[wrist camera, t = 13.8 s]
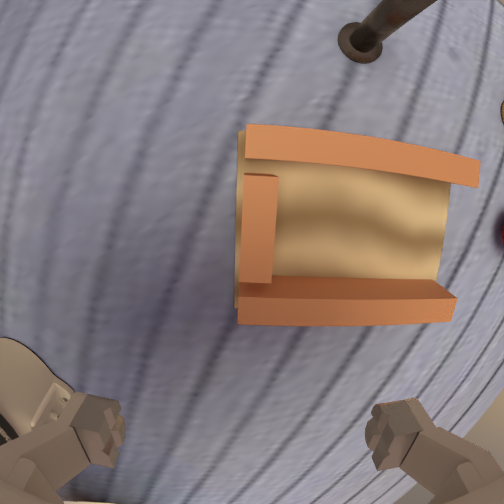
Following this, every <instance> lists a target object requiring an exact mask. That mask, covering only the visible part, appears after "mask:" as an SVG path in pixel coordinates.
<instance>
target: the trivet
mask: <svg viewBox="0 0 504 504" xmlns="http://www.w3.org/2000/svg"><path fill="white" fill-rule="evenodd" d="M245 146H246V131H239V132H238V163H237V198H236V241H235V299H234V308H238V297H239V273H240V249H241V227H242V206H243V185H244V173H262V174H274V175H276V176H278V177H279V183H278V198H277V214H276V228H275V242H274V256H273V269H272V275H278V276H306V277H338V278H377V279H432V280H434V281H435V282H436V278H437V274H438V269H439V264H440V258H441V253H442V247H443V241H444V235H445V228H446V221H447V213H448V205H449V195H450V184H451V183H449V182H444V181H439V180H433V179H428V178H422V177H416V176H410V175H404V174H397V173H391V172H384V171H377V170H369V169H361V168H353V167H345V166H336V165H326V164H316V163H305V162H293V161H279V160H264V159H245Z"/></svg>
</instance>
